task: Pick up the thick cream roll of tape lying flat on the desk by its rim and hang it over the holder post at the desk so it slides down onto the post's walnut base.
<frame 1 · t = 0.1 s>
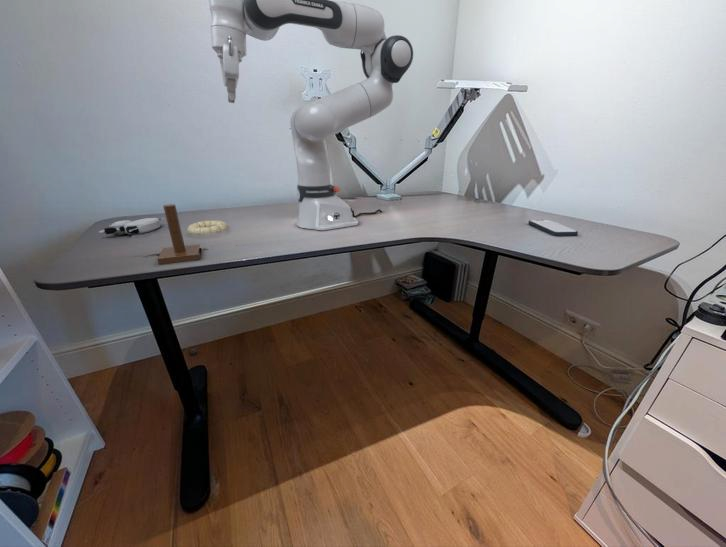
hand: (231, 101, 91), 39 cm above the table, tool pointing down, fingers open, 8 cm apart
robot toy: (135, 234, 101), on the table
tape stand: (181, 256, 83), on the table
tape: (208, 228, 103), point 1 cm above the table
phone case: (550, 230, 110), on the table
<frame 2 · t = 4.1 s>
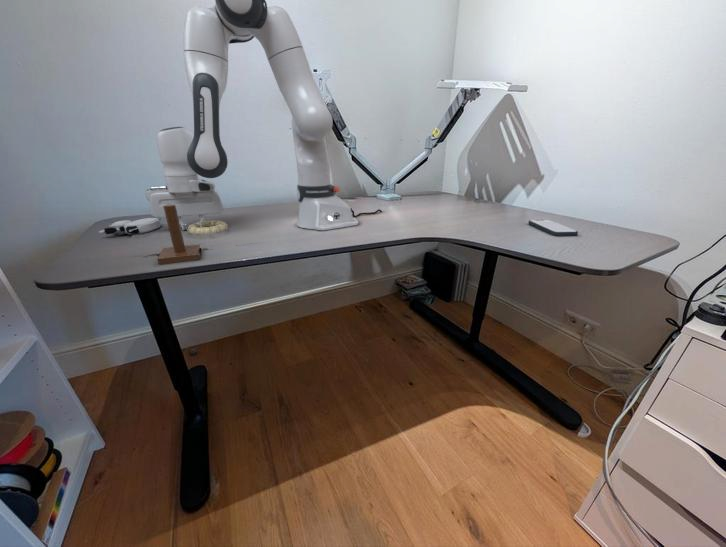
hand: (192, 229, 101), 2 cm above the table, tool pointing down, fingers closed on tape, 3 cm apart
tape: (208, 228, 103), point 2 cm above the table, touching gripper
everything else where it was.
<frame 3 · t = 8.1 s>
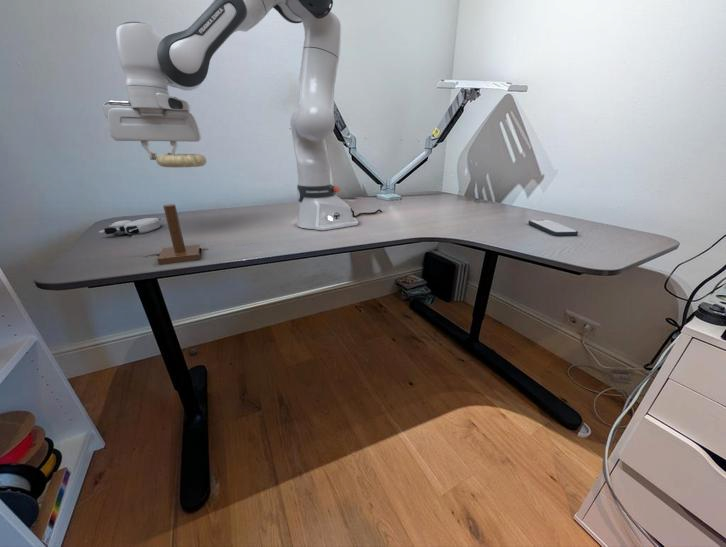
hand: (163, 159, 85), 23 cm above the table, tool pointing down, fingers closed on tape, 3 cm apart
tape: (182, 160, 86), point 23 cm above the table, touching gripper
everything else where it was.
when the fingers open (13 cm above the table, at t = 12.2 s): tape drops 10 cm, resting on tape stand.
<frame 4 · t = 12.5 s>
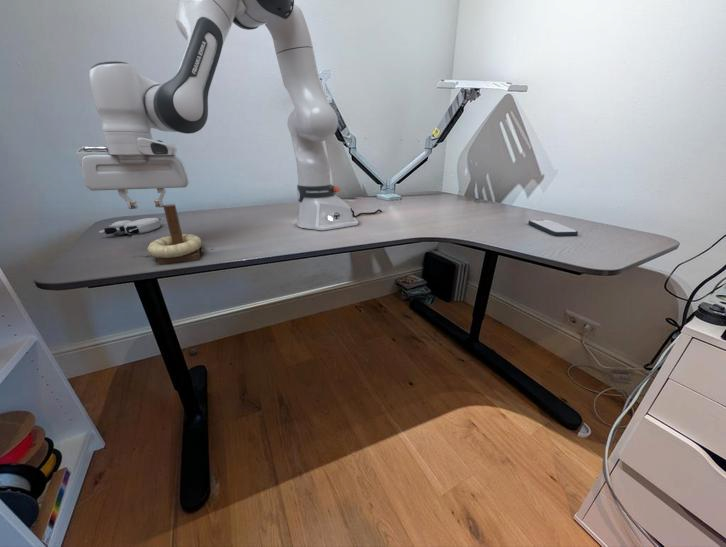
hand: (146, 207, 76), 13 cm above the table, tool pointing down, fingers open, 4 cm apart
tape: (175, 245, 81), point 3 cm above the table, touching tape stand
everything else where it was.
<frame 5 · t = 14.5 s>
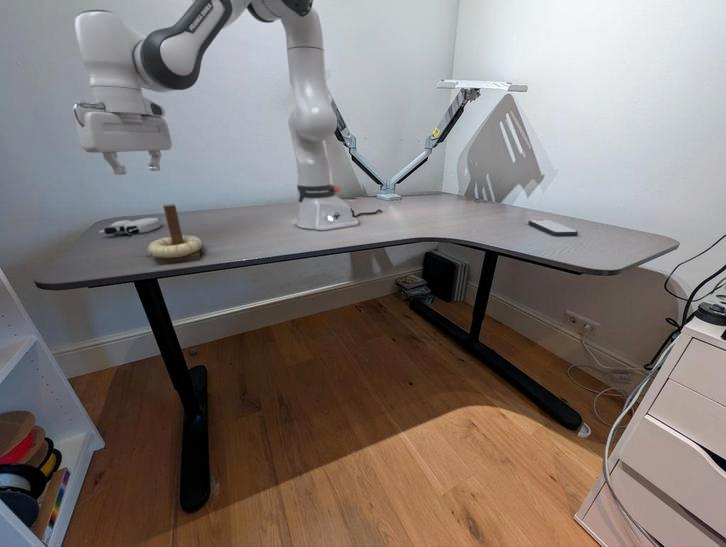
hand: (139, 172, 72), 21 cm above the table, tool pointing down, fingers open, 8 cm apart
nothing on the table moved.
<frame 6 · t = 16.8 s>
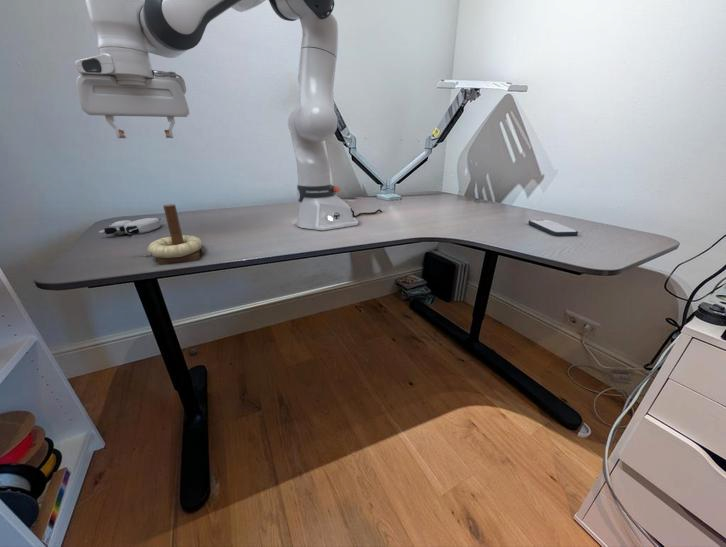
hand: (146, 138, 73), 29 cm above the table, tool pointing down, fingers open, 8 cm apart
nothing on the table moved.
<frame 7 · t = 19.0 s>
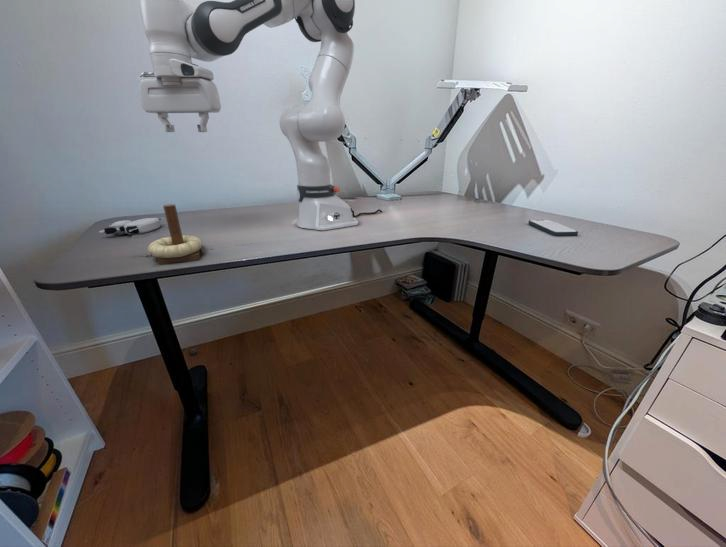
hand: (186, 132, 83), 30 cm above the table, tool pointing down, fingers open, 8 cm apart
nothing on the table moved.
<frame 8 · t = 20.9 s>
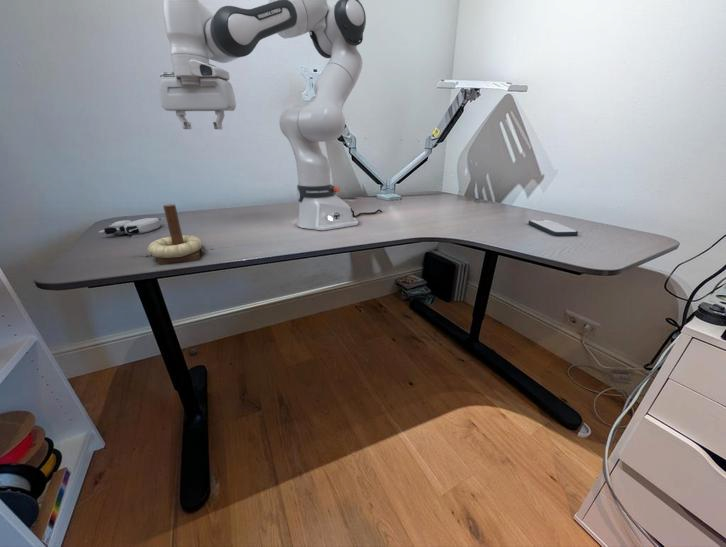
hand: (202, 129, 87), 31 cm above the table, tool pointing down, fingers open, 8 cm apart
nothing on the table moved.
at the end: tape 0.6 cm off-centre on the tape stand, point 3.0 cm above the tape stand's base; the gripper is holding nothing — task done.
